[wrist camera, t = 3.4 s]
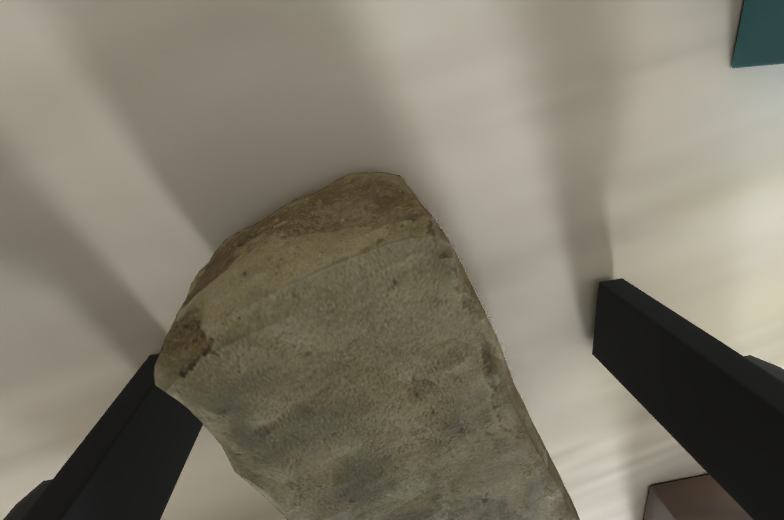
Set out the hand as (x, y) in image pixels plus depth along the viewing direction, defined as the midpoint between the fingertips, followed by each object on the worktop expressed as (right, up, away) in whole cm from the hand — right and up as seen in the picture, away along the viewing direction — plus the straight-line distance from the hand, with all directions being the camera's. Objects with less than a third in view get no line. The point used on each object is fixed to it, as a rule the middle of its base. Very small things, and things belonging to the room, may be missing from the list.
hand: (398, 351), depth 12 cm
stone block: (0, 0, 0) cm, 0 cm away
